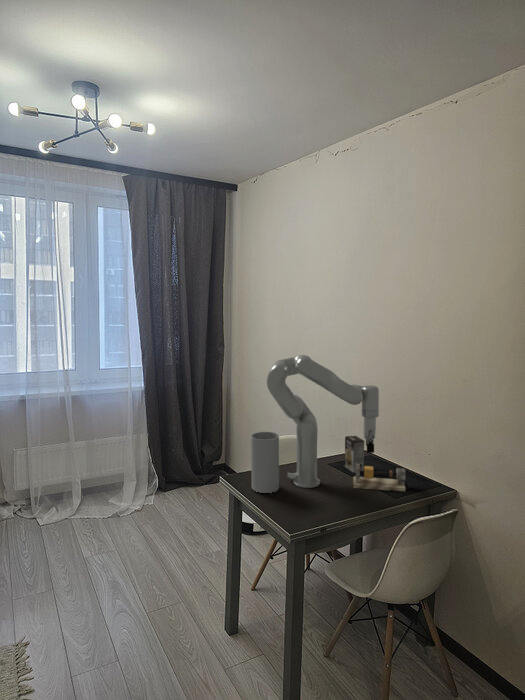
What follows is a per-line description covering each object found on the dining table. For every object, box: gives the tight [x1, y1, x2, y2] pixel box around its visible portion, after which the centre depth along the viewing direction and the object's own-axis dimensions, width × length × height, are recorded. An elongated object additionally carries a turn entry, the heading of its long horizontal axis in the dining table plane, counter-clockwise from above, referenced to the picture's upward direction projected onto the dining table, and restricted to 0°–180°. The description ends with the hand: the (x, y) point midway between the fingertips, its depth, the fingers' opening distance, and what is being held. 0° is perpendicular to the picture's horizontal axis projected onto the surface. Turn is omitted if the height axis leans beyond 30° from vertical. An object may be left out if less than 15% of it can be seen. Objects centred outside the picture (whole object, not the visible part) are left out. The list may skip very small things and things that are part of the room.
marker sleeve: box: [363, 465, 375, 479], centre depth 213 cm, size 4×4×4 cm
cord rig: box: [352, 464, 407, 492], centre depth 213 cm, size 23×10×9 cm, turn 79°
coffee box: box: [344, 435, 365, 474], centre depth 233 cm, size 9×6×16 cm
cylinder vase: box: [250, 431, 280, 494], centre depth 209 cm, size 12×12×25 cm
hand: (369, 449), depth 212 cm, fingers open, 9 cm apart
